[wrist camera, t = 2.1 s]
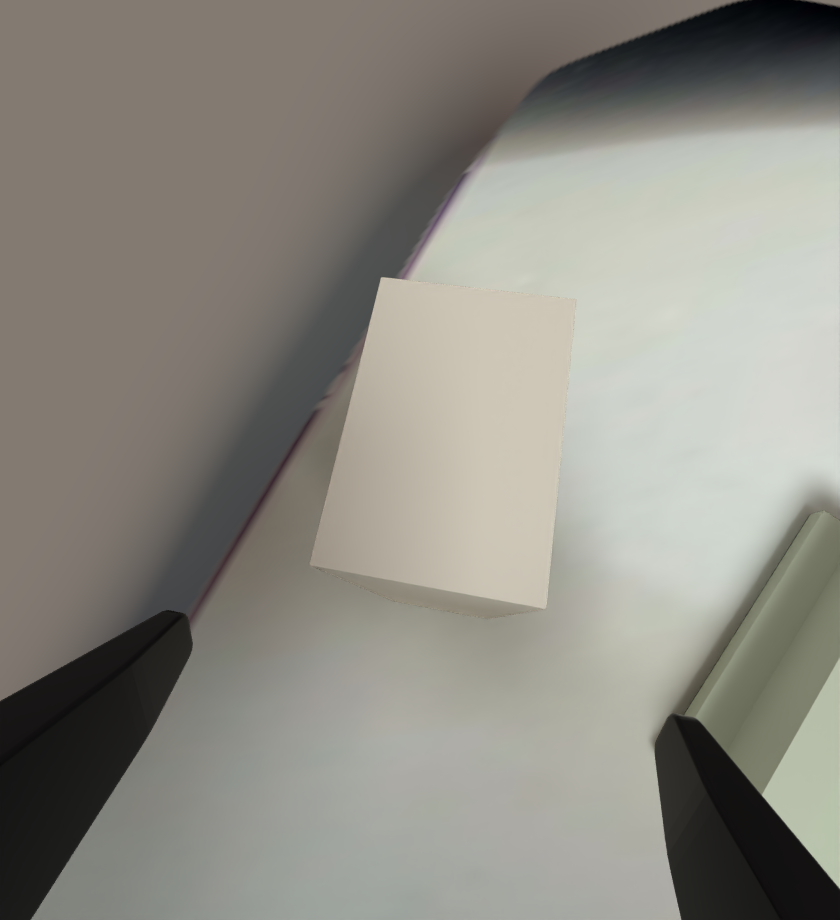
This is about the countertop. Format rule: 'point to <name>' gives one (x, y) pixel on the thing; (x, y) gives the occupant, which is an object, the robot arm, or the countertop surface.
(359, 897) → the countertop surface
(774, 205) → the countertop surface
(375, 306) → the beige rectangular box
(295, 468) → the countertop surface
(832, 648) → the tile rack
